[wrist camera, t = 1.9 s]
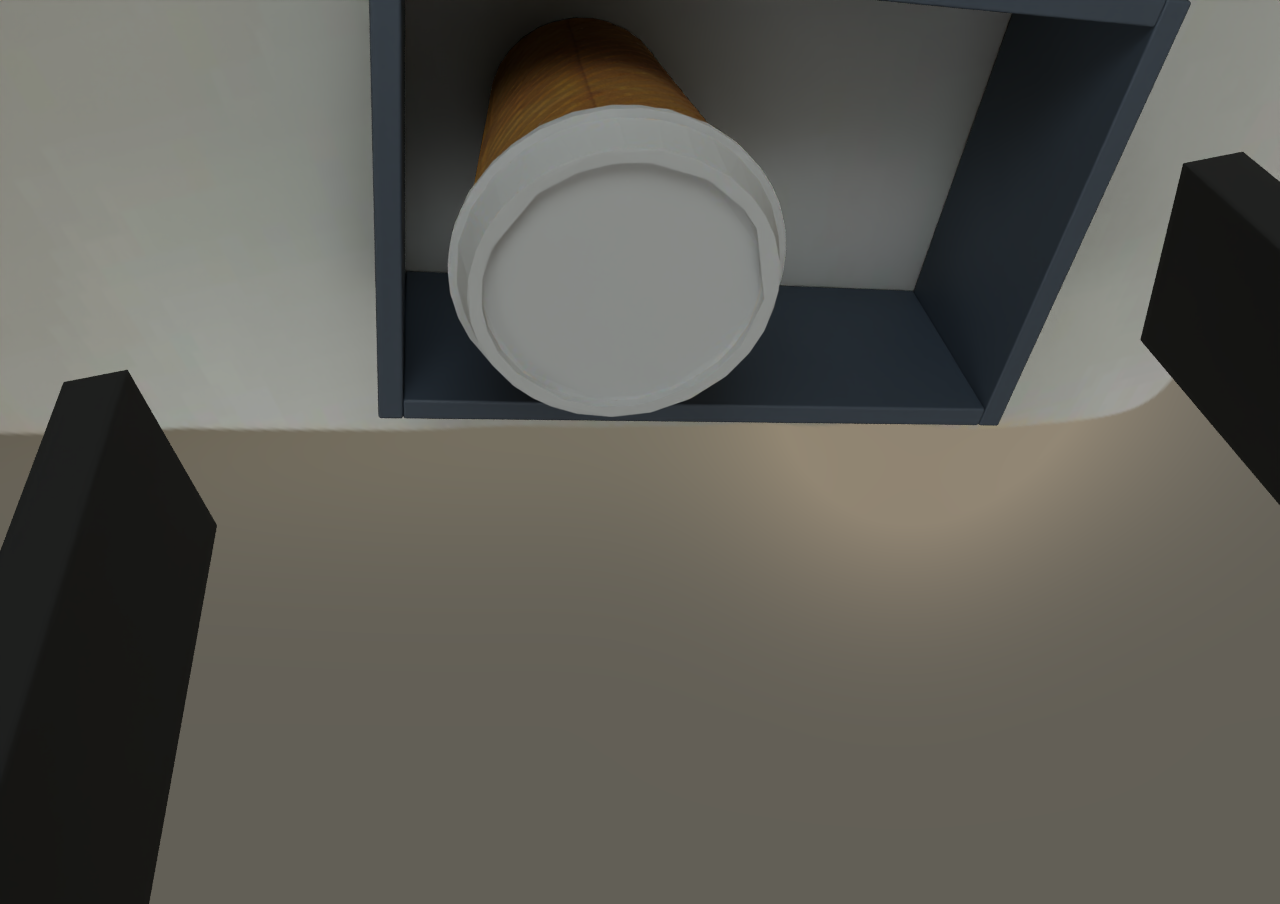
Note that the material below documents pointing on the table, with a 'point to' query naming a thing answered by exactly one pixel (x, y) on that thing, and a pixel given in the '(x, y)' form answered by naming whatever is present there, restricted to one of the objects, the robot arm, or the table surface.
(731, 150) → the disposable coffee cup
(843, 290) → the bin
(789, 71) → the table surface
